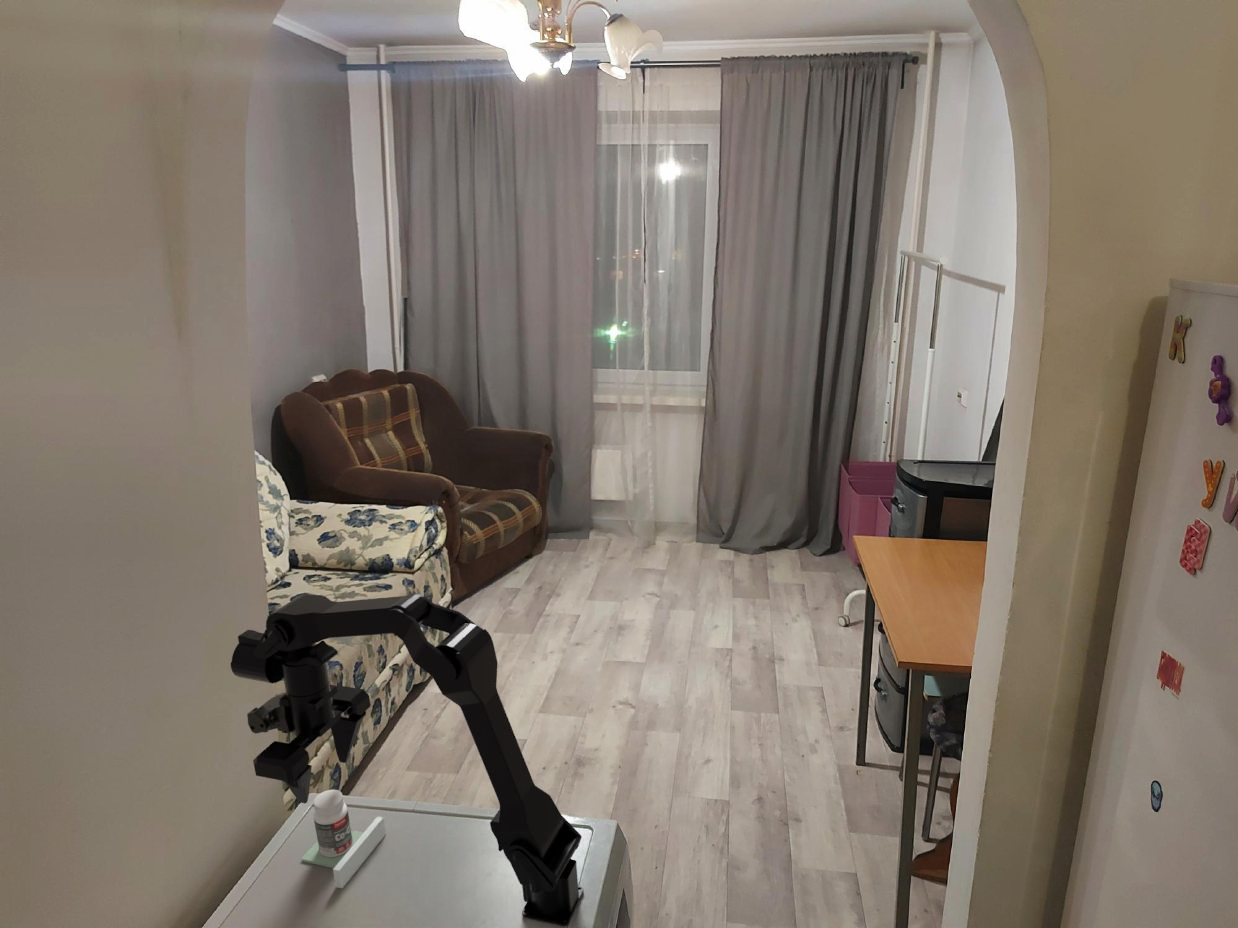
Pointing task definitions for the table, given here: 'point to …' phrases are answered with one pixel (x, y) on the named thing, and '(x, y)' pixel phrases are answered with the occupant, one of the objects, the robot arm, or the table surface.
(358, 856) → the acrylic wall
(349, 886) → the table surface
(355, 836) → the coaster
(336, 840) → the pill bottle
